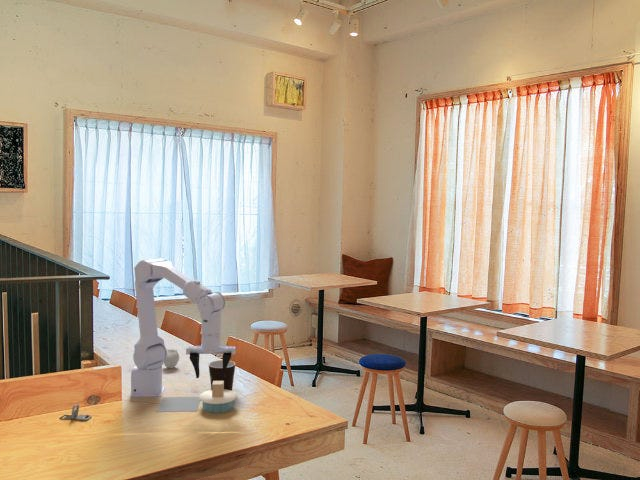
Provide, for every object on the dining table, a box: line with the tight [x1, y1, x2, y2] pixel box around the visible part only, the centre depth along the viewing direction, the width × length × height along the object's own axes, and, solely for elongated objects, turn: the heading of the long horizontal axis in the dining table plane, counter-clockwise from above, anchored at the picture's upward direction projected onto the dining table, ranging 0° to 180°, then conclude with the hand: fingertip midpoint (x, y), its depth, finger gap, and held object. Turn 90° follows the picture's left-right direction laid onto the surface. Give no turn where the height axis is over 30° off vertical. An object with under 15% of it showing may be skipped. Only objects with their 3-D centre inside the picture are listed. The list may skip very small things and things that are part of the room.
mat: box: [155, 396, 201, 413], centre depth 171 cm, size 12×12×1 cm
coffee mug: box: [208, 359, 236, 391], centre depth 183 cm, size 12×9×10 cm
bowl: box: [202, 400, 234, 414], centre depth 169 cm, size 9×9×4 cm
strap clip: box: [58, 403, 92, 422], centre depth 160 cm, size 8×3×4 cm, turn 84°
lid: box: [199, 381, 237, 404], centre depth 169 cm, size 11×11×5 cm
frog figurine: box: [163, 348, 180, 369], centre depth 208 cm, size 6×7×7 cm
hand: (210, 377), depth 169 cm, fingers open, 7 cm apart
